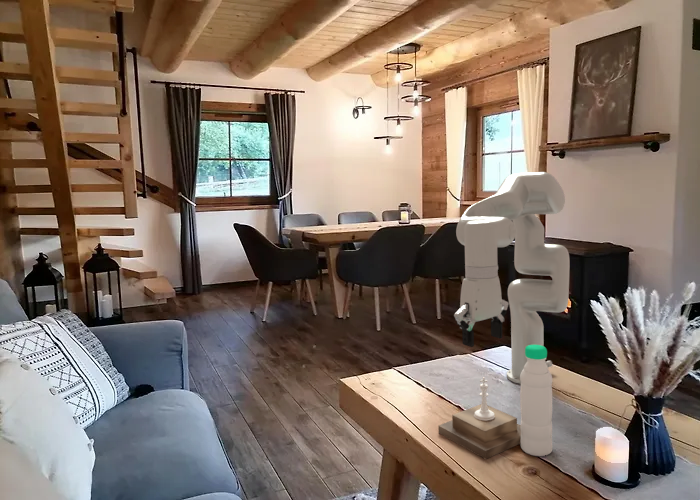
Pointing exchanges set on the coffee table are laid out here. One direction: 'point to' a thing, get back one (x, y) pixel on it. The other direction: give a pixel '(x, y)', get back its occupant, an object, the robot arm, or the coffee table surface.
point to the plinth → (478, 444)
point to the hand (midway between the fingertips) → (482, 341)
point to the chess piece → (484, 404)
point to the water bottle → (536, 403)
